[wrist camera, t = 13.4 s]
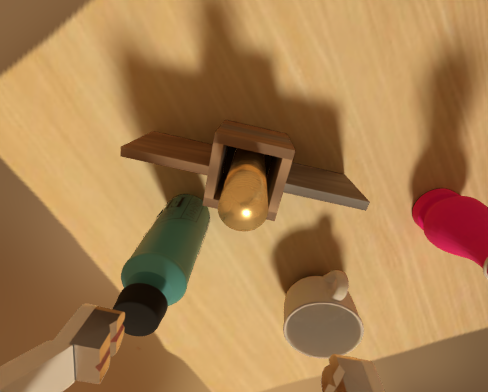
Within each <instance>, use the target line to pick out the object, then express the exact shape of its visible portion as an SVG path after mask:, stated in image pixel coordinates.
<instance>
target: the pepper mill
mask: <svg viewBox="0 0 488 392" xmlns="http://www.w3.org/2000/svg"><path fill="white" fill-rule="evenodd" d="M412 216H413V219H414V221H415V223H416V224H417V225H418V226H419V227H421V228H422V229H423V230H424V233H425V235H426V237H427V239H428V240H429V241H430V242H431V243H432V244H434V245H435V246H436V247H438V248H440V249H441V250H443V251H446V252H448V253H451V254H454V255H458V256H461V257H465V258H468V259H470V260H472V261H474V262H476V263H477V264H478V265H480V266H481V267H482V268H483V273H484V276H485V277H486V279H488V207H487V206H486V205H484V204H483V203H481V202H480V201H478V200H476V199H474V198H471V197H467V196H461V195H459V194H457V193H455V192H454V191H452V190H449V189H443V188H441V189H434V190H431V191H428V192H427V193H425V194H423V195H422V196H421V197H420V198H419V199H418V200H417V202H416V203H415V205H414V207H413V211H412Z"/></svg>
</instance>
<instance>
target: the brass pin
mask: <svg viewBox="0 0 488 392" xmlns="http://www.w3.org/2000/svg"><path fill="white" fill-rule="evenodd" d="M218 213H219V216H220V218H221V220H222V221H223V222H224V223H225V224H226V225H227V226H228V227H230V228H232V229H234V230H237V231H251V230H254V229H256V228H258V227H259V226H260V225H262V224H263V223H264V221H265V220H266V218H267V215H268V196H267V183H266V170H265V157H264V154H262V153H258V152H254V151H249V150H245V149H240V148H237V149H236V151H235V154H234V157H233V160H232V163H231V166H230V169H229V172H228V175H227V178H226V181H225V184H224V188H223V191H222V194H221V197H220V200H219V203H218Z"/></svg>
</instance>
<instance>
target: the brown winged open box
mask: <svg viewBox="0 0 488 392" xmlns="http://www.w3.org/2000/svg"><path fill="white" fill-rule="evenodd" d="M228 146H232V147H236V148H240V149H245V150H249V151H254V152H258V153H262V154H267V155H271V156H273V157H272V161H271V164H270V168H269V172H268V176H267V179H266V183H267V196H268V215H267V218H266V219H267V220H272V221H275V218H276V214H277V211H278V207H279V204H280V201H281V197H282V194H283V192H284V193H289V194H294V195H298V196H303V197H307V198H312V199H316V200H321V201H325V202H330V203H334V204H339V205H343V206H348V207H352V208H357V209H361V210H366V209H367V207H368V205H369V203H370V202H369V201H368V200H367V199H366V197H365V196H364V195H363V194H362V193H361V192H360V191H359V190H358V189H357V188H356V187H355V185H354V184H353V183H352V182H351V181H350V180H349V179H348V178H347V177H346V176H345V174H340V173H336V172H331V171H327V170H323V169H318V168H314V167H309V166H305V165H301V164H296V163H292V161H293V157H294V154H295V149H294V147H293V145H292V143H291V141H290V139H289V137H288V135H287V134H285V133H281V132H276V131H272V130H268V129H263V128H259V127H255V126H250V125H246V124H242V123H237V122H233V121H229V120H225V121H224V122H223V123H222V125H221V126H220V127H219V128H218V129H217V131H216V132H215V135H214V141H213V145H212V144H208V143H203V142H199V141H194V140H190V139H186V138H181V137H177V136H172V135H168V134H163V133H159V132H155V131H152V132H150V133H148V134H146V135H144V136H142V137H140V138H138V139H136V140H134V141H132V142H130V143H128V144H126V145H123V146H121V156H122V157H126V158H131V159H135V160H140V161H144V162H149V163H154V164H158V165H163V166H167V167H172V168H176V169H181V170H185V171H190V172H194V173H199V174H203V175H208V176H207V182H206V188H205V193H204V199H203V206H207V207H212V208H217V209H218V203H219V200H220V197H221V194H222V191H223V188H224V184H225V181H226V178H227V175H228V174H227V173H223V171H224V166H225V161H226V156H227V151H228Z"/></svg>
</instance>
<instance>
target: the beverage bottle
mask: <svg viewBox="0 0 488 392" xmlns="http://www.w3.org/2000/svg"><path fill="white" fill-rule="evenodd" d="M166 205H167V204H166ZM162 211H163V212H162ZM162 211H161V213H160V214H159V215H158V216H159V217H158V216H157V217H158V219H157V220H156V219H155V220H156V222H155V223H154V224H153V226H152V227H151V229H150V230H148V233H147V232H146V233H147V234H146V233H145V234H146V236H145V237H144V236H143V237H144V238H143V240H142V241H141V243H140V245H139V246H138V245H137V246H138V248H137V247H136V248H137V249H136V250H135V252H134V253H133V255H132V256H131V258H130V259H129V260H128V261H127V262H126V263H125V265H124V267H123V269H122V273H121V280H122V284H123V287H124V289H123V290H122V292H121V293H120V295H119V297H118V299H117V302H116V303H115V305H114V307H113V310H118V311H122V312H125V319H124V321H123V323H122V324H123V326H124V332H125V333H127V334H129V335H133V336H146V335H149V334H151V333H153V332H154V331H155V330H156V329H157V328H158V326H159V324H160V322H161V320H162V318H163V317H164V315H165V313H166V311H167V307H168V306H169V305H172V304H174V303H176V302H177V301H179V300H180V299H181V298H182V297H183V295H184V294H185V292H186V289H187V284H188V281H189V278H190V275H191V272H192V269H193V266H194V263H195V260H196V257H197V254H198V252H199V250H201V249H200V247H201V244H202V241H203V238H204V235H205V232H206V229H207V226H209V225H208V223H210V222H209V219H210V215H209V210H208V208H207V206H203V201H202V200H201V199H200V198H198V197H196V196H193V195H189V194H183V195H179V196H177V197H175V198H173V199H172V200H171V201H169V203H168V205H167V206H166V207H165V209H164V210H163V209H162ZM145 234H144V235H145ZM203 242H204V241H203ZM199 253H200V252H199Z"/></svg>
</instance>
